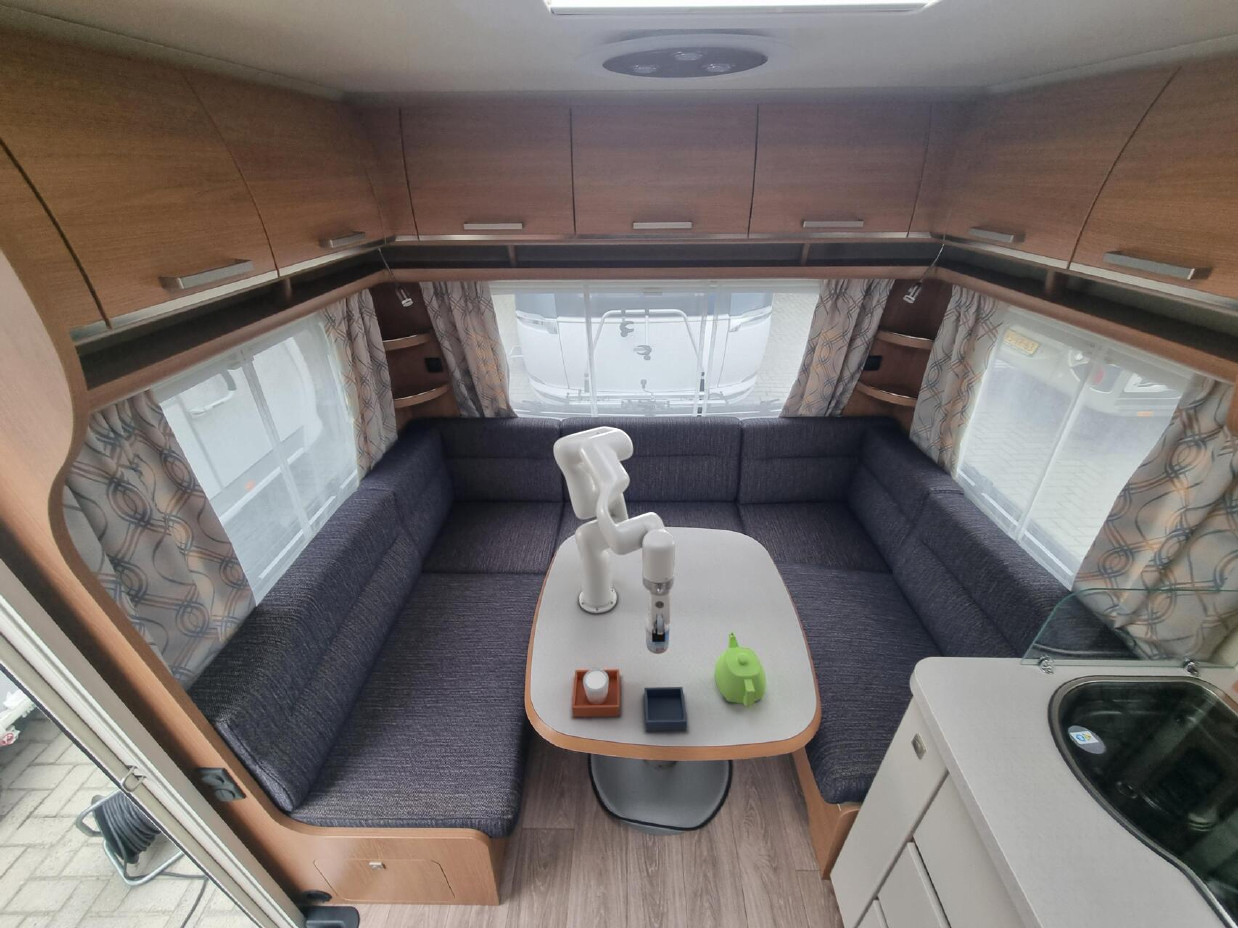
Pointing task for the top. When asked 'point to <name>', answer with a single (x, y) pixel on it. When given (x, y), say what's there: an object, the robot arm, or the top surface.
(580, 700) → the orange brown square tray
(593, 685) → the shot glass
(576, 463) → the robot arm
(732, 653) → the teapot
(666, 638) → the pill bottle
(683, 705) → the bin
